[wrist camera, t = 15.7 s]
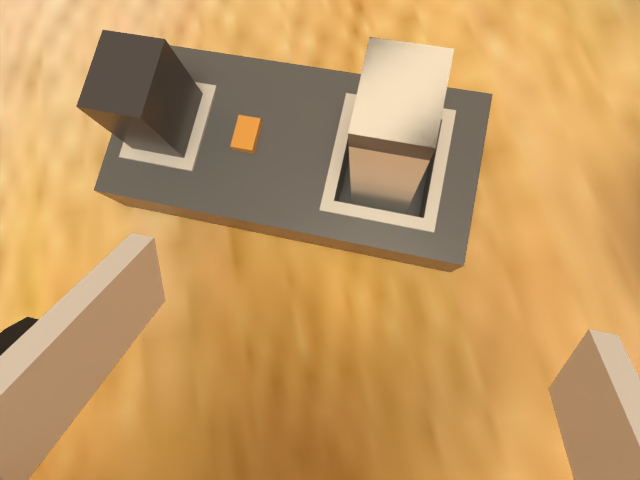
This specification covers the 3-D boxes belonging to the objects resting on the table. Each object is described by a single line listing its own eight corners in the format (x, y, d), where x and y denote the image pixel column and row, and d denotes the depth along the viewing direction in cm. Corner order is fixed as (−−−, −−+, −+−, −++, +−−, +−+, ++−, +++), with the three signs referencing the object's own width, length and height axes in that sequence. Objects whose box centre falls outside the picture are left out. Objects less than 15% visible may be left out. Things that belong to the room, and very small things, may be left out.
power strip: (124, 205, 33) (25, 157, 23) (165, 71, 35) (90, -25, 25) (450, 272, 30) (495, 249, 20) (475, 121, 32) (529, 32, 22)
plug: (351, 203, 31) (348, 133, 19) (365, 141, 32) (369, 36, 20) (405, 213, 30) (435, 148, 18) (417, 150, 31) (454, 48, 19)
